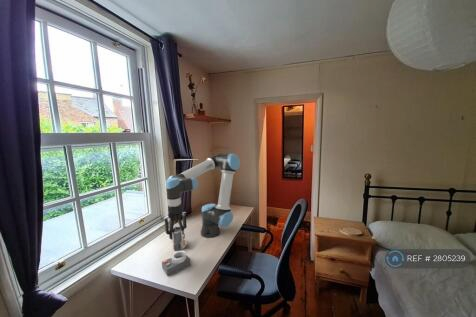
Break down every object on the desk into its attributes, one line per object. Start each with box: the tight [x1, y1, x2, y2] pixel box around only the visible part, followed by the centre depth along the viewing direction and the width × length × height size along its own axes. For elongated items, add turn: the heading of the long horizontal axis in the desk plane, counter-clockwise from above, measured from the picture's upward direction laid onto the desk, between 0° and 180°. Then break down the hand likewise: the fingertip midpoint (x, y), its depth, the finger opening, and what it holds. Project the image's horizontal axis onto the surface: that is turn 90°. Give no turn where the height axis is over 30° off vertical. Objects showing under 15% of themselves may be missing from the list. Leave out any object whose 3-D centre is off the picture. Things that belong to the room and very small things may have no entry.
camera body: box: [161, 250, 191, 277], centre depth 116 cm, size 14×9×6 cm, turn 129°
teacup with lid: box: [172, 232, 189, 251], centre depth 135 cm, size 12×9×12 cm
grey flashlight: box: [172, 226, 183, 252], centre depth 115 cm, size 5×5×13 cm
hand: (177, 241), depth 116 cm, fingers closed on grey flashlight, 4 cm apart
